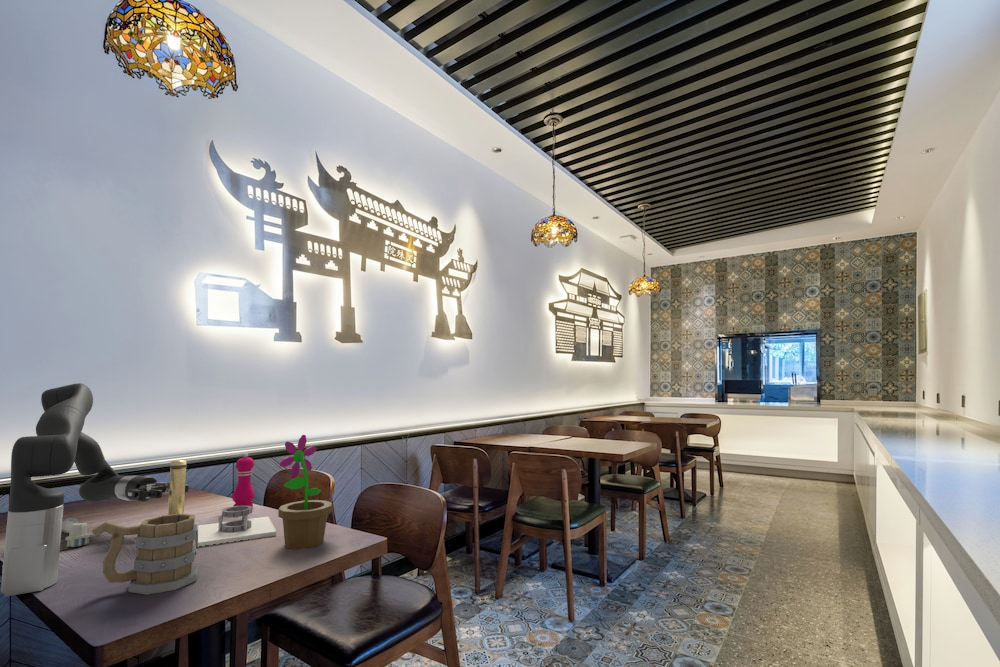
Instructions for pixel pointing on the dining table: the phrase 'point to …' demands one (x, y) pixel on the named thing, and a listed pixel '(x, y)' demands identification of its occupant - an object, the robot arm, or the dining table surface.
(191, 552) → the tankard
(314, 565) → the dining table surface
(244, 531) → the base
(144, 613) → the dining table surface
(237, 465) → the pepper mill
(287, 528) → the flowerpot
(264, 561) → the dining table surface
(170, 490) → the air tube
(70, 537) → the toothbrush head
